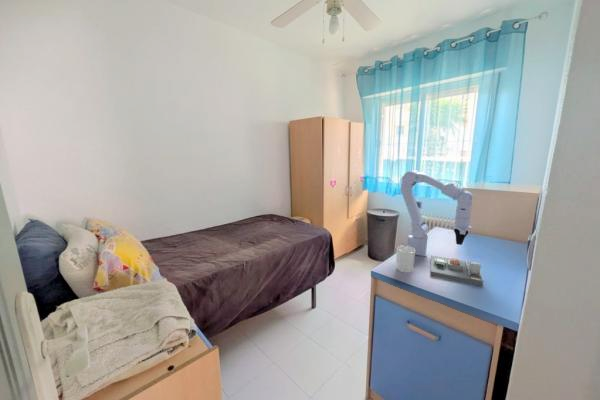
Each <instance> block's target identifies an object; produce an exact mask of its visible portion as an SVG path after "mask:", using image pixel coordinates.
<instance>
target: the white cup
mask: <svg viewBox="0 0 600 400" xmlns="http://www.w3.org/2000/svg"><path fill="white" fill-rule="evenodd" d="M415 251H416V250H415V249H414V248H412V247H409V246H407V245H398V246H397V247H396V256H395V257H396V260H395V261H396V267H395V268H396V270H398V271H399V272H401V273H406V274H408V273H412V272H413V267H414V262H415V256H416V255H415Z"/></svg>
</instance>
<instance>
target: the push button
mask: <svg viewBox="0 0 600 400" xmlns="http://www.w3.org/2000/svg"><path fill="white" fill-rule="evenodd" d="M450 259H451V264H454V265H458V264H459V258H458V259H457V258H450Z"/></svg>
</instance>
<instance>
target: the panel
mask: <svg viewBox="0 0 600 400" xmlns="http://www.w3.org/2000/svg"><path fill="white" fill-rule="evenodd" d="M437 258H438V259H443V260H444V262H445V265H442V264H437V261H436V260H437ZM451 259H452V258H448V257H441V256H436V255H430V259H429V260H430V263H429V265H430V266H429V267H430V269H429V270H430V272H429V273H430V274H429V276H431V277H435V278H440V279H446V280H450V281H456V282H461V283H466V284H470V285H475V286H479V287H482V286H483V283H484V281H483V278H482V274H481V272H480V273H479V272H478V275H474V274H471V272H470V271H469V267H470V262H471V261H467V259H465V260H459V259H458V260H459V264H458V265H454V264H451ZM473 263H477V261H474V262H473Z"/></svg>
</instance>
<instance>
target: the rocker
mask: <svg viewBox="0 0 600 400" xmlns="http://www.w3.org/2000/svg"><path fill="white" fill-rule="evenodd" d="M436 261H437V264H442V265H445V262H444V260H443V259H438V258H437V260H436Z"/></svg>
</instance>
